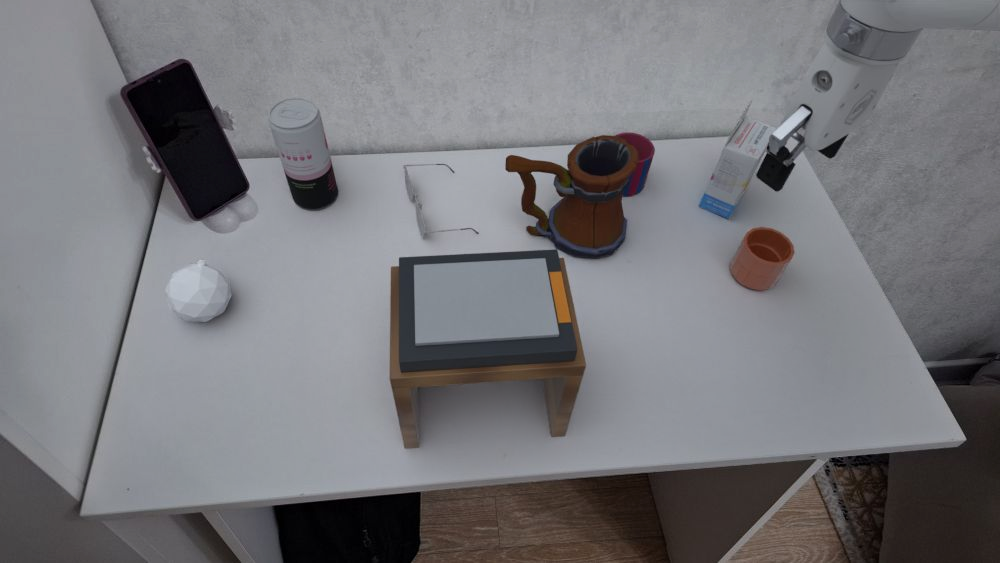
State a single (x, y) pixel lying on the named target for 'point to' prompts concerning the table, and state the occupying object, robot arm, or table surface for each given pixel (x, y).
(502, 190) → the table surface
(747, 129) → the ink box
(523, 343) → the scale
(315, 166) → the beverage can
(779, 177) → the robot arm
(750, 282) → the flower pot
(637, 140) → the cup
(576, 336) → the stand
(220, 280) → the ornament
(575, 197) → the mug
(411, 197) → the eyeglasses
